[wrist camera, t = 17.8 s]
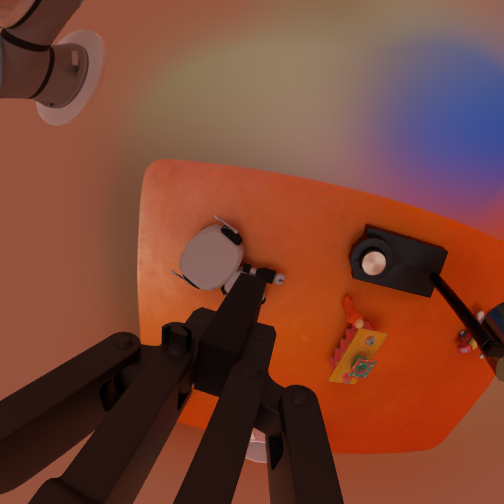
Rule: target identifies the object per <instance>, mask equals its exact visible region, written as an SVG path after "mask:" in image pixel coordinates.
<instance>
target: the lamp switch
mask: <svg viewBox="0 0 504 504" xmlns="http://www.w3.org/2000/svg"><path fill="white" fill-rule="evenodd" d="M360 261H361V265H362V267H363V270H364V271H365V272H366V273H367V274H369V275H377V274H379V273H381V272H382V271H383V270H384V268H385V265H386V260H385V257H384V255H383V254H382V252H381V251H380V250H378V249H376V248H369V249H367V250H365V251H364V252H363V253H362V255H361V259H360Z"/></svg>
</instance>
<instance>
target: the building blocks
mask: <svg viewBox="0 0 504 504" xmlns="http://www.w3.org/2000/svg"><path fill="white" fill-rule="evenodd" d="M342 306H343V307H344V310H345V312H346V314H347V315H348V316H347V322H348V323H352V328H347V329H346V331H345V332H346V338H341V339H340V345H341V347H340V348H338V347H336V348H335V350H334V351H335V357H333V356H331V357H330V358H329V360H330V362H331V365H332V368H333V370H334V371H333V372H332V374H331V375H330V377H329V379H328V380H327V381H330V382H338V383H346V384H355V383H356V382H357V380H358V379H359V378H364V379H366V378H367V376H368V375H369V374H370V372H371V371H372V369H373V368H374V366H375V365H376V363H377V361H373V360H372V358H373V357H374V355H375V353H376V352H377V350H378V349H379V347H380V346H381V344H382V342H383V341H384V339H385V337H386V336H387V333H382V332H377V331H374V330H373V328H372V327H371V325H370V324H369V322H367V321H363V319H364V317H363V316H362V315H361V313H360V312H359V311H357V310H356V308H355V306H354V303H353V301H352V300H351V298H350V296H346V297H344V300H343V302H342ZM265 448H266V443H265Z"/></svg>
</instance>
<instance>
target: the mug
mask: <svg viewBox="0 0 504 504" xmlns="http://www.w3.org/2000/svg"><path fill="white" fill-rule="evenodd" d="M245 458H247V459H249V460H252V461H255V462H260V463H267V455H266V448H265V434H264V433H262V432H261V431H259V430H257V429H255V428H253V431H252V435H251V438H250V442H249V445H248V449H247V452H246V456H245Z"/></svg>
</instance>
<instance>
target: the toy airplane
mask: <svg viewBox="0 0 504 504" xmlns="http://www.w3.org/2000/svg"><path fill="white" fill-rule="evenodd" d="M485 317H486V316H485V315H484V312H483V311H478V312H477V320H478V321H479V322H480V324H481V323H482V321H483V320H484V318H485ZM459 336H460V337H461V339H462V341H461V342H460V344H459V345H458V346H457V349H458V352H459V353H468V352H471V350H474V349H475V348H476V347H478V346H477V343H476V341H475V340H474V338H473V337H472V336H471V334H470V333H468V334H467V335H466V332H465V331H463V330H462V331H460V332H459ZM478 356H480V359H481V358H483V357H484V356H483V354H482V353H481V355H478Z"/></svg>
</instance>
